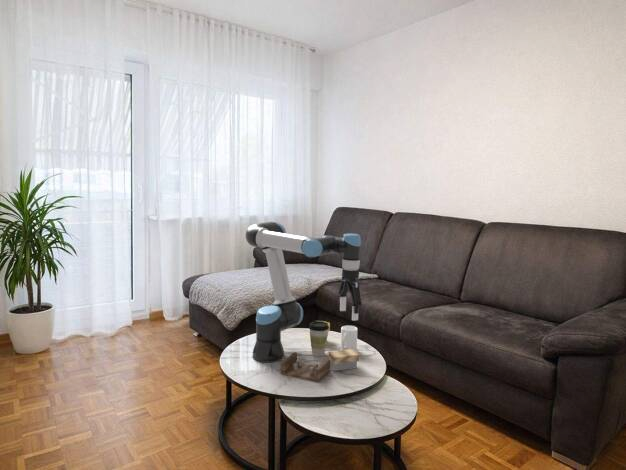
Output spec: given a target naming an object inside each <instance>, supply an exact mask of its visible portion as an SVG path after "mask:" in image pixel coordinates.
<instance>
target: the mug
mask: <svg viewBox="0 0 626 470" xmlns="http://www.w3.org/2000/svg"><path fill="white" fill-rule="evenodd" d="M348 349H353V350H354V351H356V352H357V353H358V327H356V325H343V326H341V328H340V349H339V351H340V350H348Z"/></svg>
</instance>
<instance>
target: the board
mask: <svg viewBox="0 0 626 470" xmlns="http://www.w3.org/2000/svg"><path fill="white" fill-rule="evenodd" d="M327 357H328V358H327V359H330V360H331V361H332V363H333V364H341V363H348V362H355V361H357V362H360V354H359V353H358V351H357V352H356V351H354V350H353V349H348V350H340V349H339V350H335V351H334V350H332V351H328V356H327Z"/></svg>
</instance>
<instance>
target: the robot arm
mask: <svg viewBox="0 0 626 470" xmlns="http://www.w3.org/2000/svg"><path fill="white" fill-rule="evenodd" d="M361 239H362V238H361V235H360V234H358V233H344V234H343V237H342V236H334V235H331V234H330V235H322V237H317V238H314V237H309V236H305V235H304V236H303V235H297V234H290V233H287V231H286V228H285V227H284V225H282V224H281V223H280V222H276V221H267V222H261V223H252V224H251V225H250V226H249V227H248V228H247V229H246V232H245V240H246V242H247V243H248V245H250V246H251V247H254V248H260V249H261V251H262V252H263V253H265V257H266V262H267V267H268V271H269V276H270V280H271V281H270V282H271V287H272V290H273V294H274V302H273V303H272V305H265V306H262V307H260V308H259V309H258V310H257V311H256V316H255V326H256V327H255V331H256V332H255V333H256V334H255V337H256V341H255V343H254V347H253V349H252V358H253V359H254V360H255V361H257V362H261V363H273V362H279V361H281V360H282V359H284V358H285V350H284V346H283V344H282V343H283V342H282V338H281V336H282V335H281V334H282V332H283V331H285V330H289V329H291V328H294V327H296V326H298V325H299V324H300V323H301V322H302V321H303V318H304V309H303V307H302V306H301V304H300V303H299V302H297V300H296V299H297V298H295V297H294V296H293V295H292V290H291V289H292V288H291V286H290V285H291V284H290V280H289V276H288V272H287V266H286V262H285V257H284V252H283V251H288V252H294V253H298V254H303V255H304V256H306V257H308V258H316V257H321V256H324V255H330V254H337V255H338V254H339V255H342V266H341V268H342V270H341V271H342V272H341V281H340V284H339V288H338V291H337V292H338V293H337V294H338V295H339V296H340V297H339V311H340V312H346V310H347V296H348V295H347V294H348V293H350V297H351V301H352V304H351V307H352V309H351V321H359V307H361V306H362V298H361V291H360V282H356V281H357V279H359V277H360V264H361V261H360V259H361V258H360V257H361V246H362V243H361Z"/></svg>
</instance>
